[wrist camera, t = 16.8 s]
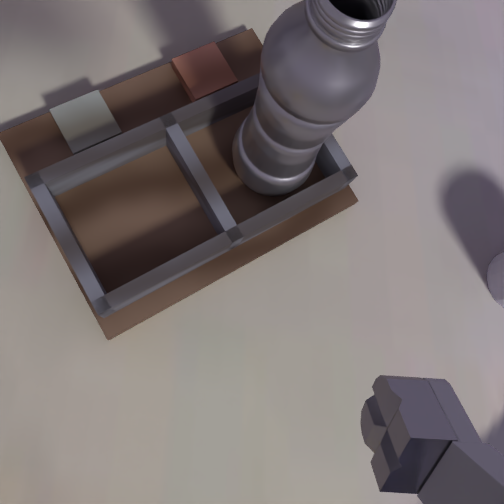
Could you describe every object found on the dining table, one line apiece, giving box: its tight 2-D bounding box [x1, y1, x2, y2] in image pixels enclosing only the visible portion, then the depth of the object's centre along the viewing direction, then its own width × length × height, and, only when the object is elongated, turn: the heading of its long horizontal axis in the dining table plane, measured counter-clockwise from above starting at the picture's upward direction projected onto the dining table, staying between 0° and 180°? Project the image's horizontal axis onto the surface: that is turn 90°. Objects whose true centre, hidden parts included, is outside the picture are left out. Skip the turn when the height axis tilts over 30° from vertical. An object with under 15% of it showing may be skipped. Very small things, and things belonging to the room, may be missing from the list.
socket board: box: [0, 28, 358, 340], centre depth 37 cm, size 18×23×4 cm
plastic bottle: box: [232, 0, 397, 196], centre depth 30 cm, size 6×7×20 cm
